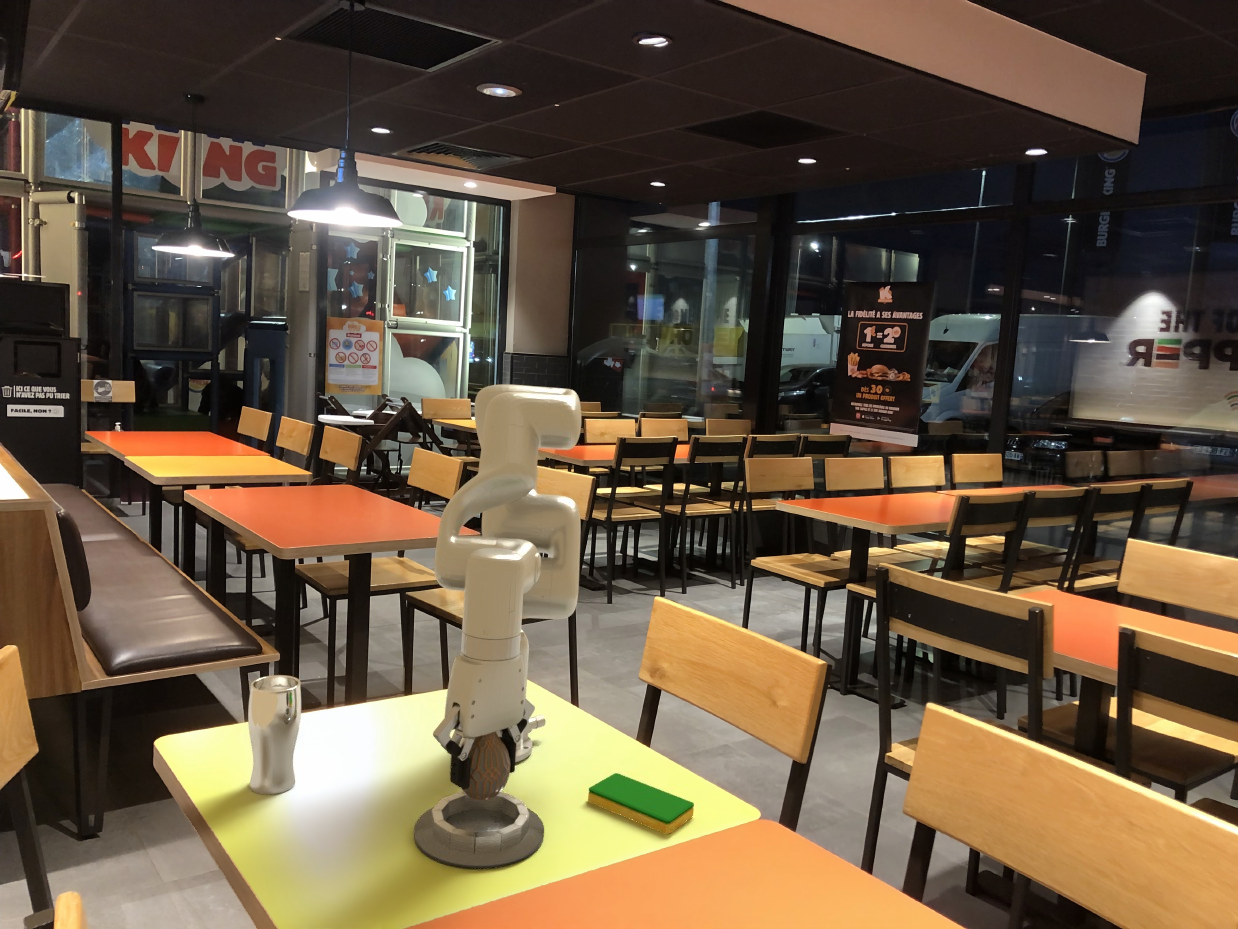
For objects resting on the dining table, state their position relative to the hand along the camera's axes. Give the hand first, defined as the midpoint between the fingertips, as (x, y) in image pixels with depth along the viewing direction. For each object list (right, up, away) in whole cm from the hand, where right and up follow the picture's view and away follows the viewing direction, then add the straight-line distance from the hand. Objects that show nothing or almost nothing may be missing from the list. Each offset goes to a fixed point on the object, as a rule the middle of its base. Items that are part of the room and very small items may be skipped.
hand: (482, 776), depth 121 cm
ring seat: (-1, -8, +1) cm, 8 cm away
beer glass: (-31, -5, +10) cm, 33 cm away
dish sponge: (+21, -9, +11) cm, 25 cm away
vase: (0, -2, 0) cm, 3 cm away
